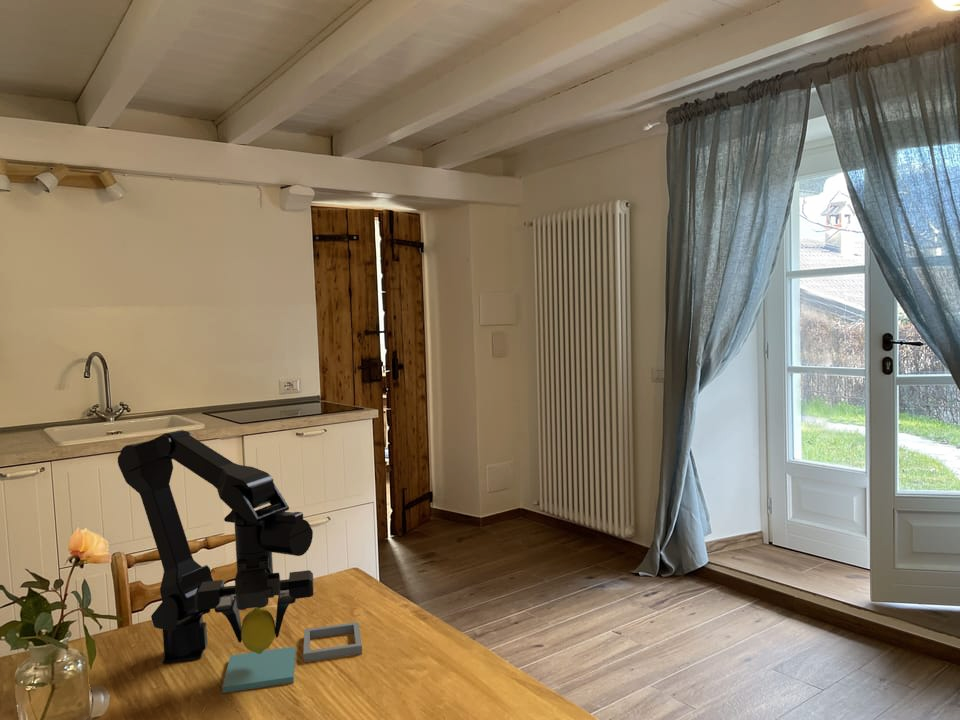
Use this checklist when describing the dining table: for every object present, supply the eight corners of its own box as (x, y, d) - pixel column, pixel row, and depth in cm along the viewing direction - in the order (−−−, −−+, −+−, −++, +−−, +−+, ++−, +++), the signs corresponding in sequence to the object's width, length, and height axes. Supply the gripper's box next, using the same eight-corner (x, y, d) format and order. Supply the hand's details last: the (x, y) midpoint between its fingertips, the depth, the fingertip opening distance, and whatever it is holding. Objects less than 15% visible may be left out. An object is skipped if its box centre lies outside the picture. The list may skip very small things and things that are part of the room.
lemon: (245, 664, 113) (242, 617, 113) (240, 651, 118) (237, 605, 118) (279, 656, 116) (277, 609, 115) (273, 643, 121) (270, 598, 120)
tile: (222, 693, 110) (222, 687, 110) (230, 660, 121) (230, 655, 121) (293, 682, 113) (293, 676, 113) (295, 651, 124) (295, 646, 124)
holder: (303, 662, 120) (303, 653, 120) (304, 637, 129) (304, 629, 129) (362, 653, 122) (361, 645, 122) (358, 629, 132) (358, 621, 132)
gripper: (185, 571, 106) (191, 670, 107) (310, 558, 110) (315, 653, 111) (197, 548, 117) (203, 638, 118) (311, 537, 121) (315, 624, 122)
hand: (258, 639), depth 117 cm, fingers closed on lemon, 5 cm apart
